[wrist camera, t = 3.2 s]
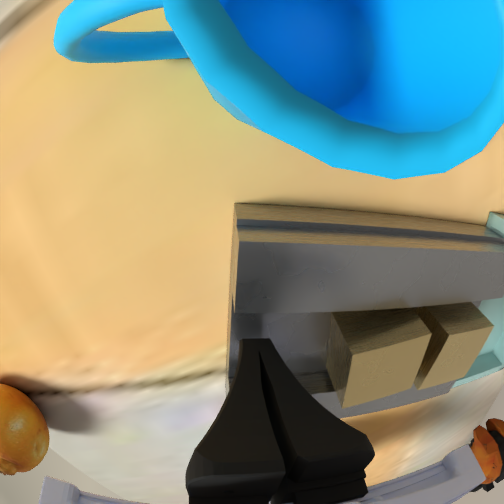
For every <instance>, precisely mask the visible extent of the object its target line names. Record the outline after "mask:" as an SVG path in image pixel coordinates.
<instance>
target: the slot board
mask: <svg viewBox="0 0 504 504" xmlns="http://www.w3.org/2000/svg"><path fill="white" fill-rule="evenodd" d="M503 295H504V237H502V236H501V235H499V234H498V233H496V232H495V231H493V230H492V229H490V228H488V227H487V226H483V225H476V224H469V223H461V222H454V221H446V220H438V219H430V218H421V217H412V216H403V215H393V214H383V213H373V212H362V211H351V210H338V209H325V208H312V207H297V206H280V205H261V204H240V203H234V219H233V235H232V253H231V271H230V290H229V311H228V333H227V357H226V384H225V387H226V397H227V394H228V392H229V390H230V387H231V384H232V381H233V378H234V375H235V371H236V367H237V363H238V351H239V340H241V339H248V338H269V339H271V341H272V343H273V345H274V346H275V348H276V350H277V351H278V353H279V355H280V356H281V358H282V359H283V361H284V362H285V364H286V365H287V367H288V368H289V369H290V371H291V372H292V373H293V375H294V376H295V377H296V379H297V380H298V381H299V382H300V383H301V385H302V386H303V387H304V388H305V389H306V390H307V391H308V392H309V393H310V394H311V395H312V396H313V397H314V398H315V399H316V400H317V401H318V402H319V403H320V404H321V405H322V406H323V407H325V408H326V409H327V410H328V411H330V412H331V413H332V414H334V415H335V416H336V417H337V418H345V417H351V416H357V415H362V414H367V413H372V412H377V411H382V410H386V409H391V408H395V407H399V406H403V405H407V404H411V403H415V402H418V401H422V400H425V399H429V398H432V397H436V396H439V395H442V394H445V393H448V392H449V391H450V389H451V388H452V386H453V385H454V383H455V382H456V380H457V379H456V380H453V381H450V382H446V383H443V384H440V385H436V386H432V387H429V388H425V389H421V390H417V388H416V387H415V385H414V383H413V385H412V387H411V388H410V389H407V390H404V391H402V392H399V393H395V394H392V395H389V396H386V397H383V398H380V399H376V400H373V401H369V402H366V403H362V404H359V405H355V406H351V407H347V408H343V409H342V408H341V405H340V402H339V400H338V397H337V394H336V392H335V389H334V386H333V384H332V381H331V378H330V376H329V373H328V370H327V368H326V365H327V355H328V344H329V332H330V319H331V312H341V311H362V310H380V309H396V308H409V307H411V308H412V309H413V310H414V312H415V313H416V310H417V308H418V307H422V306H433V305H444V304H454V303H464V302H472V303H473V304H474V305H475V306H476V307H477V308H479V306H480V304H481V302H482V300H489V299H497V298H503Z"/></svg>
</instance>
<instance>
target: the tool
mask: <svg viewBox="0 0 504 504" xmlns="http://www.w3.org/2000/svg"><path fill="white" fill-rule="evenodd" d="M486 427H487V430H486V429H485V428H483V427H482V426H480V425H479V426H478V427H477V428H476V429H475V430H474V432H473V433H474V439H473V440H471V447H470V448H471V450H472V452H473V454H474V456H475V458H476V459H477V461H478V463H479V465H480V467H481V469H482V471H483V473H484V475H485V477H486V480H485V481H483V482H482V483H481V484H479V485H478V486H477V487H475V488H474V489H473V490H471V491H470V492H475V491H477V490H479V489H481V488H482V487H483V489H484V490H485V491H487V492H488V491H490V490H491V489H492V488H494V485H493V481H495V482H496V483H498V482H500V481H501V480H503V479H504V421H502V420H499V419H495V418H494V419H488V421H487V422H486Z"/></svg>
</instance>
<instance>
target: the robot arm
mask: <svg viewBox="0 0 504 504" xmlns="http://www.w3.org/2000/svg"><path fill="white" fill-rule="evenodd" d="M374 456H375V452H374V450H373V447H372V445H371V443H370V441H369V439H368V438H367V436H366V434H364V433H362V432H360V431H358V430H356V429H355V428H353V427H351V426H349V425H348V424H346V423H345V422H343V421H342V420H340V419H339V418H337V417H336V416H335V415H334V414H332V413H331V412H330V411H328V410H327V409H326V408H325V407H323V406H322V405H321V404H320V403H319V402H318V401H317V400H316V399H315V398H314V397H313V396H312V395H311V394H310V393H309V392H308V391H307V390H306V389H305V388H304V387H303V386H302V385H301V383H300V382H299V381H298V380H297V379H296V377H295V376H294V375H293V373H292V372H291V371H290V369H289V368H288V367H287V365H286V364H285V362H284V361H283V359H282V358H281V356H280V355H279V353H278V351H277V350H276V348H275V346H274V345H273V343H272V341H271V339H269V338H248V339H241V340H239V351H238V363H237V367H236V371H235V375H234V378H233V381H232V384H231V387H230V390H229V392H228V394H227V397H226V399H225V401H224V404H223V406H222V408H221V410H220V411H219V413H218V415H217V417H216V419H215V421H214V422H213V424H212V425H211V427H210V429H209V430H208V432H207V433H206V435H205V436H204V438H203V439H202V440H201V442H200V443H199V444H198V446H197V447H196V448H195V450H194V453H193V455H192V457H191V459H190V462H189V464H188V467H187V470H186V489H187V492H188V495H189V504H451V503H453V502H455V501H457V500H458V499H460V498H461V497H463V496H464V495H466V494H467V493H468V492H470V491H471V490H473V489H474V488H475V487H477V486H478V485H479V484H481V483H482V482H483V481H485V480H486V477H485V475H484V473H483V471H482V469H481V467H480V465H479V463H478V461H477V459H476V458H475V456H474V454H473V452H472V450H471V448H470V446H469V445H468V444H466V445H464V446H462V447H460V448H458V449H456V450H454V451H452V452H450V453H449V454H448V455H446V456H445V457H444V458H443V460H442V461H440V462H437V463H435V464H433V465H430V466H428V467H425V468H423V469H420V470H418V471H415V472H412V473H410V474H407V475H404V476H401V477H398V478H395V479H392V480H389V481H386V482H383V483H380V484H377V485H373V486H370V487H367V486H366V483H365V480H364V478H365V477H366V474H365V471H364V469H365V468H366V467H367V465H368V464H369V463H370V462H371V461H372V459H373V458H374ZM39 504H148V503H140V502H133V501H127V500H121V499H115V498H110V497H105V496H100V495H96V494H91V493H87V492H84V491H80V490H79V489H78V488H77V487H76V486H75V485H73V484H71V483H69V482H66V481H62V480H59V479H56V478H53V477H50V476H45V477H44V482H43V486H42V490H41V494H40V499H39Z"/></svg>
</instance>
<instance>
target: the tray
mask: <svg viewBox="0 0 504 504" xmlns="http://www.w3.org/2000/svg"><path fill="white" fill-rule="evenodd" d="M486 226H487V227H488V228H490V229H492V230H493V231H495V232H496V233H498V234H499V235H501V236H502V237H504V214H499V213H494V212H490V213H489V217H488V221H487V224H486ZM478 309H479V310H480V311H481V312H482V313H483V314H484V315H485V316H486V317H487V319H488V320H489V321H490V322H491V323H492V324H493V325H494V328H493V330H492V331H491V333H490V335H489V337H488V339H487V341H486V342H485V344H484V346H483V348H482V349H481V351H480V353H479V354H478V356H477V358H476V359H475V361H474V363H473V364H472V366H471V367H470V369H469V370H468V372H467V374H466V375H465V377H463V378H459V379H457V380H456V382H455V383H454V385H453V386H452V388H453V387H456V386H459V385H462V384H465V383H468V382H471V381H473V380H476V379H479V378H482V377H484V376H487V375H489V374H492V373H494V372H497V371H499V370H502V369H503V368H504V295H503V298H497V299H489V300H482V302H481V304H480V306H479V308H478Z"/></svg>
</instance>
